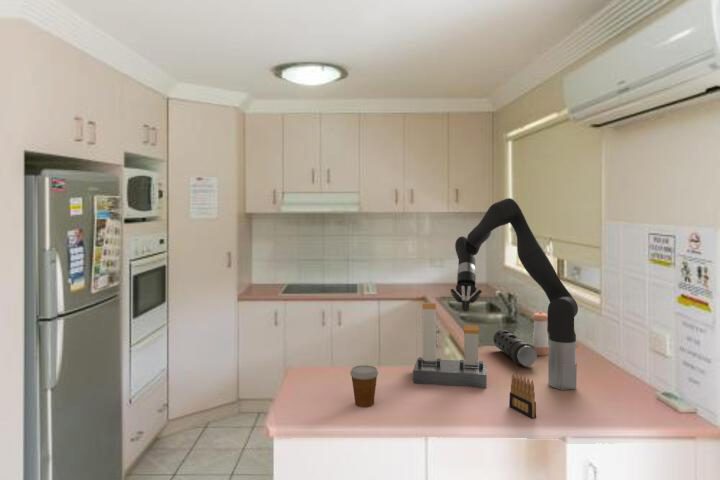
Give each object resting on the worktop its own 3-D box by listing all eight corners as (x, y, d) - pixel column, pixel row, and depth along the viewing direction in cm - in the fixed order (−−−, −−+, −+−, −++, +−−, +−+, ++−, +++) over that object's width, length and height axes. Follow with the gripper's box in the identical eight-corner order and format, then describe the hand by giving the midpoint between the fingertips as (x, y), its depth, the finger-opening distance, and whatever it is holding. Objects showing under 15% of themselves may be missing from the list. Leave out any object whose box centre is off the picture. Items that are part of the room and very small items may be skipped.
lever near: (464, 363, 199) (463, 325, 183) (478, 363, 198) (478, 325, 182) (464, 367, 197) (463, 330, 181) (478, 368, 196) (478, 330, 180)
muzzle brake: (512, 350, 238) (512, 328, 237) (538, 369, 210) (538, 344, 209) (492, 351, 237) (492, 329, 237) (515, 370, 209) (516, 345, 209)
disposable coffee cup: (349, 399, 179) (349, 365, 178) (377, 398, 179) (376, 364, 179) (351, 409, 169) (350, 374, 169) (380, 408, 170) (379, 373, 169)
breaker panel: (417, 370, 210) (417, 352, 209) (485, 374, 204) (485, 356, 204) (412, 383, 194) (412, 364, 194) (486, 388, 188) (486, 368, 188)
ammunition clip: (536, 418, 162) (536, 380, 161) (531, 419, 161) (532, 381, 160) (513, 406, 172) (513, 370, 171) (509, 407, 171) (509, 371, 170)
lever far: (422, 363, 202) (422, 302, 201) (436, 363, 201) (436, 303, 200) (422, 364, 200) (422, 303, 199) (435, 365, 199) (435, 304, 197)
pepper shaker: (528, 352, 235) (528, 310, 233) (539, 350, 238) (540, 309, 237) (540, 356, 228) (541, 313, 227) (552, 354, 231) (552, 312, 230)
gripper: (482, 281, 218) (482, 316, 206) (450, 280, 220) (448, 314, 209) (482, 270, 212) (482, 305, 201) (450, 269, 215) (448, 304, 204)
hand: (465, 310), depth 205 cm, fingers closed
